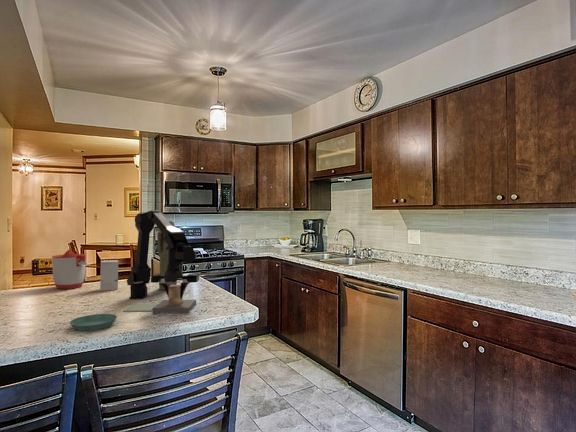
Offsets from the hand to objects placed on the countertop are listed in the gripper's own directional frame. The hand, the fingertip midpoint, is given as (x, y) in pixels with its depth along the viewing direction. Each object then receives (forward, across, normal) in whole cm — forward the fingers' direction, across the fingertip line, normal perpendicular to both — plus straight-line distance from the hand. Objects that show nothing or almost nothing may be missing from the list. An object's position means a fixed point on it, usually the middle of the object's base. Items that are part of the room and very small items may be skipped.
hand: (175, 298), depth 156 cm
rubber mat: (+4, -14, +1) cm, 15 cm away
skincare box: (+4, -45, +40) cm, 60 cm away
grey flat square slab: (+4, 0, 0) cm, 4 cm away
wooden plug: (+4, 0, 0) cm, 4 cm away
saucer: (+4, -22, -23) cm, 32 cm away
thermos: (+4, -15, +40) cm, 43 cm away
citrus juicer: (+4, -68, +46) cm, 82 cm away
